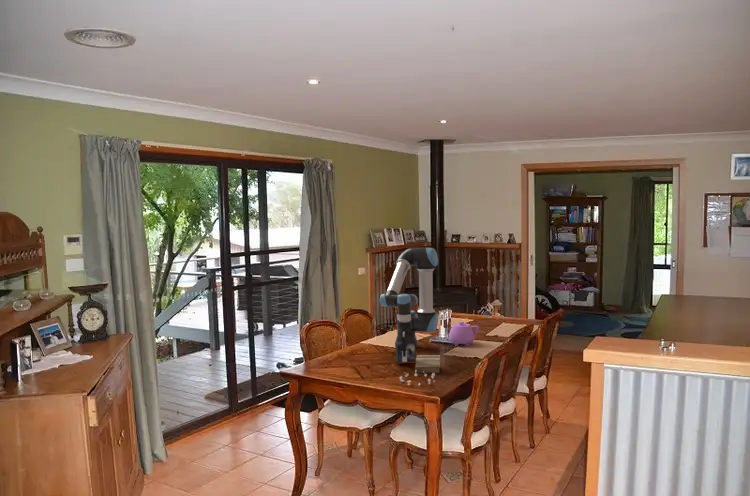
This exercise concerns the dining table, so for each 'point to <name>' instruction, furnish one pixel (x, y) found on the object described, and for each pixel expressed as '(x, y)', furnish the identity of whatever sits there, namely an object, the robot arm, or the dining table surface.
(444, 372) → the dining table surface
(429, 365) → the tower top block
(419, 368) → the tower base block
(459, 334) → the teapot
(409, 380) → the game piece set
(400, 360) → the small box
